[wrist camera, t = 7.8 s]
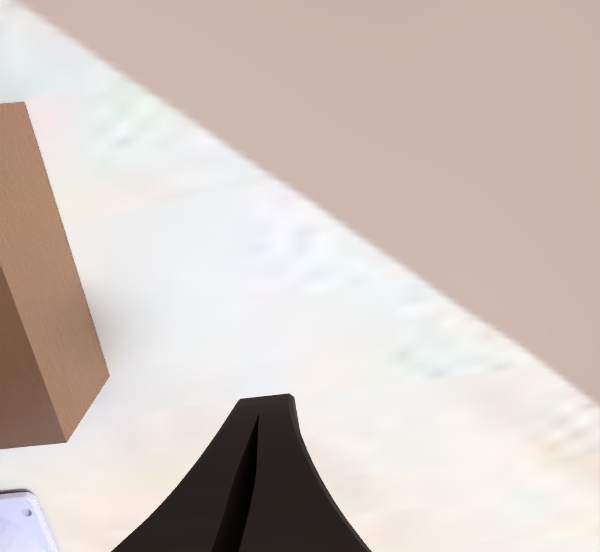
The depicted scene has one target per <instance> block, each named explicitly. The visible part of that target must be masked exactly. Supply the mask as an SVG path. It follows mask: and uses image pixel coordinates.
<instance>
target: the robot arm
mask: <svg viewBox="0 0 600 552" xmlns="http://www.w3.org/2000/svg"><path fill="white" fill-rule="evenodd" d="M0 552H59V551H58V549H57V546H56V544H55V542H54V539H53V537H52V535H51V532H50V530H49V527H48V525H47V523H46V520H45V518H44V515H43V513H42V511H41V508H40V506H39V504H38V501H37V499H36V497H35V496H34V495H33V494H32V493H29V492H19V493H8V494H0ZM111 552H371V550H370V549H369V548H368V547H367V545H366V544H365V543H364V542H363V540H362V539H361V538H360V536H359V535H358V534H357V532H356V531H355V530H354V529H353V527H352V526H351V525H350V523H349V522H348V521H347V519H346V518H345V517H344V515H343V514H342V512H341V511H340V509H339V508H338V506H337V505H336V503H335V502H334V500H333V498H332V497H331V495H330V493H329V492H328V490H327V488H326V487H325V485H324V483H323V481H322V480H321V478H320V476H319V474H318V472H317V470H316V468H315V466H314V464H313V462H312V460H311V458H310V456H309V453H308V451H307V449H306V446H305V444H304V441H303V439H302V436H301V433H300V429H299V423H298V417H297V411H296V405H295V399H294V397H293V396H292V395H290V394H281V395H272V396H262V397H253V398H244V399H240V400H239V401H238V402H237V403H236V405H235V407H234V408H233V410H232V411H231V413H230V414H229V416H228V417H227V419H226V421H225V422H224V424H223V425H222V427H221V428H220V430H219V431H218V433H217V434H216V436H215V437H214V438H213V440H212V441H211V443H210V444H209V445H208V447H207V448H206V450H205V451H204V452H203V454H202V455H201V457H200V458H199V459H198V461H197V462H196V463H195V464H194V466H193V467H192V468H191V469H190V471H189V472H188V473H187V474H186V476H185V477H184V478H183V479H182V481H181V482H180V483H179V484H178V486H177V487H176V488H175V489H174V490H173V491H172V493H171V494H170V495H169V496H168V497H167V498H166V499H165V501H164V502H163V503H162V504H161V505H160V506H159V507H158V508H157V509H156V510H155V511H154V512H153V513H152V514H151V515H150V516H149V517H148V518H147V519H146V520H145V521H144V522H143V523H142V524H141V525H140V526H139V527H138V528H137V529H136V530H134V531H133V532H132V533H131V534H130V535H129V536H128V537H127V538H126V539H124V540H123V541H122V542H121V543H120V544H119V545H118V546H117V547H116V548H115V549H113V550H112V551H111Z"/></svg>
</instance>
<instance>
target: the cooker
mask: <svg viewBox="0 0 600 552" xmlns="http://www.w3.org/2000/svg"><path fill="white" fill-rule="evenodd" d="M109 376H110V375H109V372H108V369H107V366H106V363H105V359H104V356H103V353H102V350H101V347H100V343H99V340H98V337H97V334H96V330H95V327H94V324H93V321H92V318H91V314H90V311H89V308H88V305H87V302H86V298H85V295H84V292H83V289H82V285H81V282H80V279H79V276H78V273H77V269H76V266H75V263H74V260H73V257H72V253H71V250H70V247H69V244H68V240H67V237H66V234H65V231H64V228H63V224H62V221H61V218H60V215H59V212H58V208H57V205H56V202H55V199H54V196H53V192H52V189H51V186H50V183H49V179H48V176H47V173H46V170H45V167H44V163H43V160H42V157H41V154H40V151H39V147H38V144H37V141H36V138H35V134H34V131H33V128H32V125H31V122H30V118H29V115H28V112H27V109H26V106H25V102H17V103H5V104H0V449H7V448H17V447H27V446H37V445H47V444H57V443H66V442H67V441H68V440H69V438H70V436H71V435H72V433H73V432H74V430H75V429H76V427H77V426H78V424H79V423H80V421H81V419H82V418H83V416H84V415H85V413H86V412H87V410H88V409H89V407H90V406H91V404H92V402H93V401H94V399H95V398H96V396H97V395H98V393H99V392H100V390H101V389H102V387H103V386H104V384H105V382H106V381H107V379H108V378H109Z"/></svg>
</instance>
